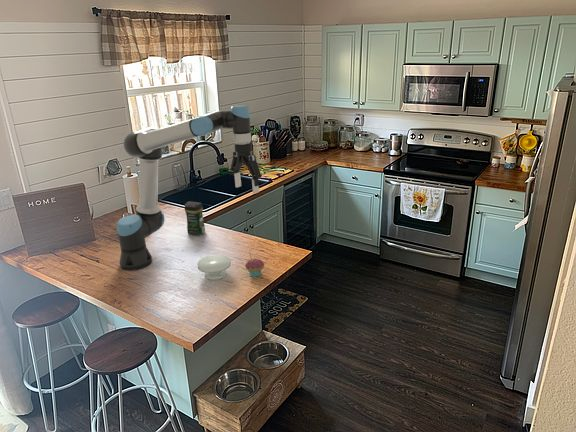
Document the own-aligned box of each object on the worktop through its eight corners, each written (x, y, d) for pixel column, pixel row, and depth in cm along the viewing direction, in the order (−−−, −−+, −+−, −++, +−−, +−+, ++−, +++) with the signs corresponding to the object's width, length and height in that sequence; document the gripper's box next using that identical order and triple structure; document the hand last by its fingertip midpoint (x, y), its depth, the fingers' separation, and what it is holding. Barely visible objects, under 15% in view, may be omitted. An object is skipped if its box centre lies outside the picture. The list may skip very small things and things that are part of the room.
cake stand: (209, 286, 191) (207, 273, 189) (193, 274, 202) (191, 261, 200) (238, 275, 200) (237, 262, 198) (221, 264, 211) (219, 251, 209)
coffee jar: (185, 234, 246) (181, 203, 239) (193, 229, 253) (189, 199, 246) (200, 236, 242) (196, 205, 236) (207, 231, 249) (204, 200, 242)
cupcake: (247, 279, 196) (246, 255, 191) (244, 271, 203) (242, 247, 199) (266, 276, 198) (265, 252, 193) (262, 268, 205) (261, 245, 201)
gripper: (267, 144, 181) (270, 193, 189) (234, 137, 199) (238, 182, 207) (252, 147, 176) (256, 197, 184) (220, 140, 195) (224, 186, 202)
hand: (247, 189), depth 195 cm, fingers open, 13 cm apart
